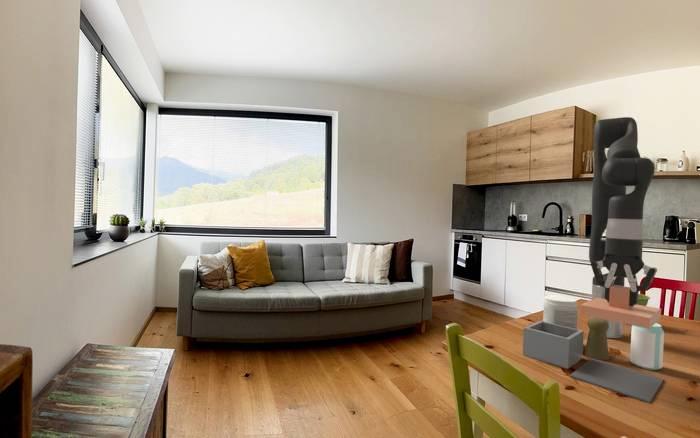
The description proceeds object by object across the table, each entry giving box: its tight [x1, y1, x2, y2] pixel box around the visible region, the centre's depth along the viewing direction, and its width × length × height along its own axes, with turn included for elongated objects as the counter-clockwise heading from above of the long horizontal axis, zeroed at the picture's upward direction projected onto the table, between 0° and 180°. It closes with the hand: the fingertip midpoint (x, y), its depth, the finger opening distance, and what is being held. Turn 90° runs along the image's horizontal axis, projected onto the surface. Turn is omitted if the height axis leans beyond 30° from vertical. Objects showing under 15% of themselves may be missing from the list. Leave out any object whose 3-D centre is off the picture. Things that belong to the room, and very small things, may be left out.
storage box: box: [522, 320, 585, 370], centre depth 106 cm, size 12×12×8 cm
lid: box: [579, 285, 662, 329], centre depth 92 cm, size 14×14×8 cm
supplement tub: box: [542, 294, 579, 329], centre depth 117 cm, size 10×10×15 cm
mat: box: [569, 357, 665, 404], centre depth 93 cm, size 18×16×1 cm
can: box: [629, 322, 665, 371], centre depth 102 cm, size 7×7×12 cm
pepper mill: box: [584, 317, 610, 361], centre depth 108 cm, size 6×6×11 cm
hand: (620, 303), depth 92 cm, fingers closed on lid, 4 cm apart
